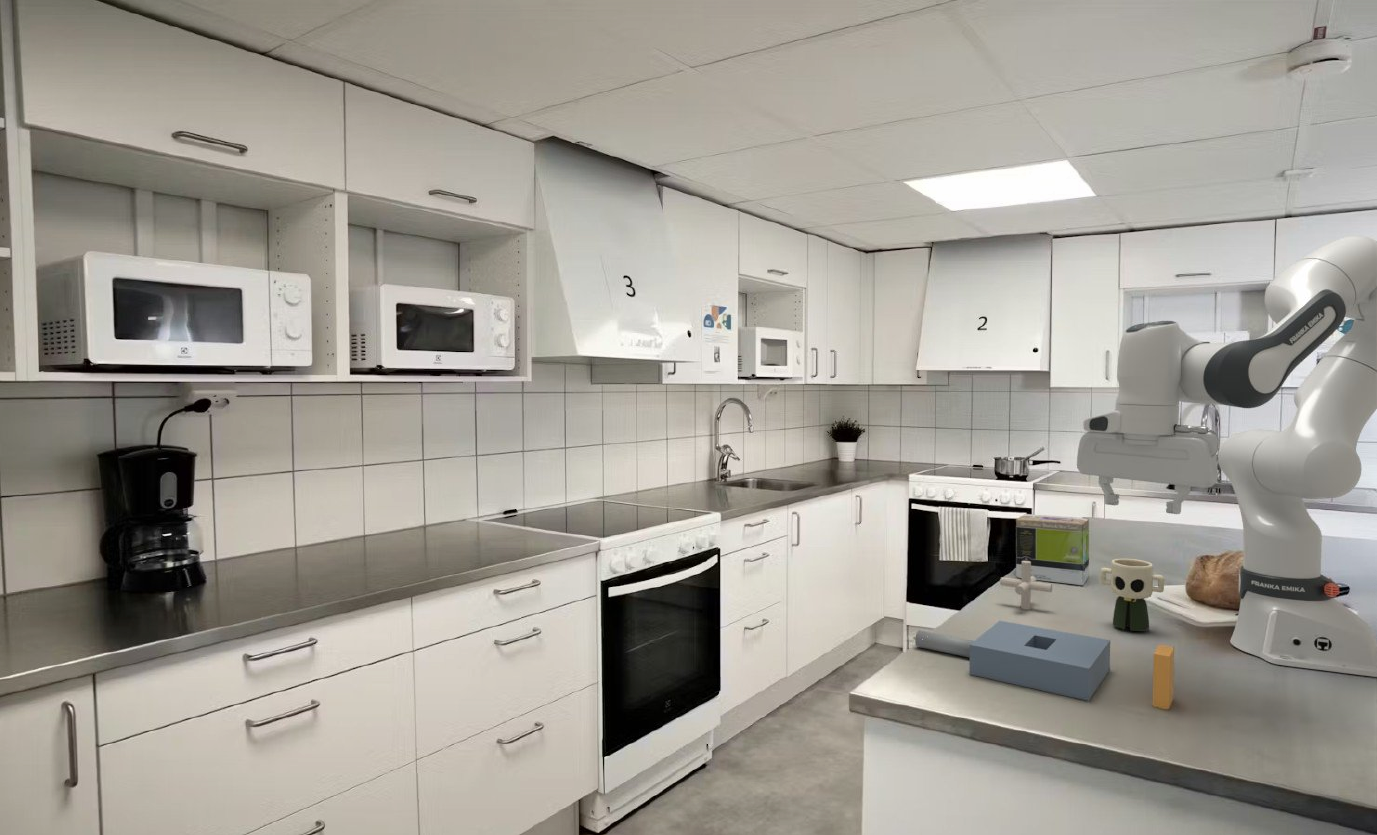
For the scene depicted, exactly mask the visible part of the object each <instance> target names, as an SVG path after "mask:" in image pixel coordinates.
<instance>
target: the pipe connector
mask: <svg viewBox="0 0 1377 835" xmlns="http://www.w3.org/2000/svg"><path fill="white" fill-rule="evenodd" d="M999 580H1000V582H999V583H1000V586H1002V587H1004V586H1005V587H1010V588H1015V589H1014V592H1015V593H1016V594H1017V595H1019V596H1020V609H1022V610H1025V611H1026V610H1027V611H1029V610H1031V599H1032V598H1031V591H1039V592H1044V593H1052V591H1053V584H1052V583H1046V582H1039V581H1037V580H1036V578H1035V577H1033V576H1031V562H1030V561H1022V567H1021V578H1018V579H1017V578H1010V577H1000V579H999Z"/></svg>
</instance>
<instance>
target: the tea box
mask: <svg viewBox="0 0 1377 835" xmlns="http://www.w3.org/2000/svg"><path fill="white" fill-rule="evenodd" d="M1022 561H1030V562H1031V576H1033V577H1035V578H1036V581H1042V582H1052V583H1060V584H1068V585H1076V586H1077V585H1078V586H1084V585H1085V583H1086V582H1087V581H1088V579H1089V576H1090V575H1089V574H1090V572H1089V571H1090V520H1089V518H1086V517H1073V516H1071V517H1070V516H1060V515H1047V514H1046V515H1045V514H1033V513H1032V514H1031V513H1024V514H1023V515H1021V516H1020V517H1017V519H1015V568H1016V569H1015V571H1016V573H1015V574H1016V579H1017V578H1018V579H1021V567H1022Z"/></svg>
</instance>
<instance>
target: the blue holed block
mask: <svg viewBox="0 0 1377 835" xmlns="http://www.w3.org/2000/svg"><path fill="white" fill-rule="evenodd" d="M927 636H928V637H927ZM922 639H923V640H922ZM914 640H915V642H914V643H915V646H916V647H917V648H922V649H927V650H932V651H936V652H941V653H946V654H950V655H955V656H960V657H965V658H969V675H970V676H971V675H972V676H976V677H980V678H984V679H989V680H992V681H993V680H994V681H999V682H1001V683H1008V684H1012V685H1016V686H1020V687H1025V688H1030V689H1033V690H1038V691H1043V692H1048V693H1052V694H1057V695H1060V696H1061V695H1062V696H1065V697H1070V698H1074V699H1080V700H1083V701H1090V700H1091V698H1092V697H1093V695H1094V693H1095V692H1097V689H1098V688H1099V686H1100V685H1101V683H1103V680H1104V679H1105V677H1106V676H1107V674H1109V671H1110V670H1111V662H1110V661H1111V639H1106V638H1101V637H1100V638H1099V637H1094V636H1088V635H1082V634H1078V633H1071V632H1066V631H1061V630H1055V629H1049V628H1043V627H1037V626H1033V625H1027V624H1020V623H1017V622H1015V623H1014V622H1010V621H1003V620H998V621H997V622H996V623H994V624H993V625H992V626H991V627H990V628H988V629H987V630H986V631H985V632H984V633H982V634H980V636H979V637H978V638H976V639H975V640H973V639H967V638H961V637H956V636H951V635H946V634H940V633H935V632H931V631H926V630H921V629H919V630H917V632H916V635H915V639H914Z"/></svg>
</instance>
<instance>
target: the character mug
mask: <svg viewBox="0 0 1377 835" xmlns="http://www.w3.org/2000/svg"><path fill="white" fill-rule="evenodd" d="M1110 566H1111V567H1110V568H1108V567H1102V568H1101V569H1100V584H1101V585H1106V586H1111V587H1110V589H1111V592H1112V594H1114V595H1117V598H1116V600H1115V604H1114V610H1113V611H1114V612H1113V618H1112V625H1113V626H1115V627H1116V628H1119V629H1122V630H1125V629H1126V626H1127V627H1129V630H1130V631H1134V632H1135V631H1136V632H1141V631H1142V632H1143V631H1147V630H1148V629H1149V628H1150V619H1149V618H1150V617H1149V612H1148V604H1147V601H1146V600H1145V599H1149V598H1150V597H1152V595H1153V593H1163V592H1164V591H1165V577H1164V575H1161V574H1154V565H1153V563H1151V562H1150V561H1146V560H1142V559H1136V558H1135V559H1134V558H1114V559H1112V560H1111V565H1110ZM1107 574H1110V579H1107ZM1154 580H1155V581H1157V584H1158V585H1157V586H1154V585H1153V581H1154Z"/></svg>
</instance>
